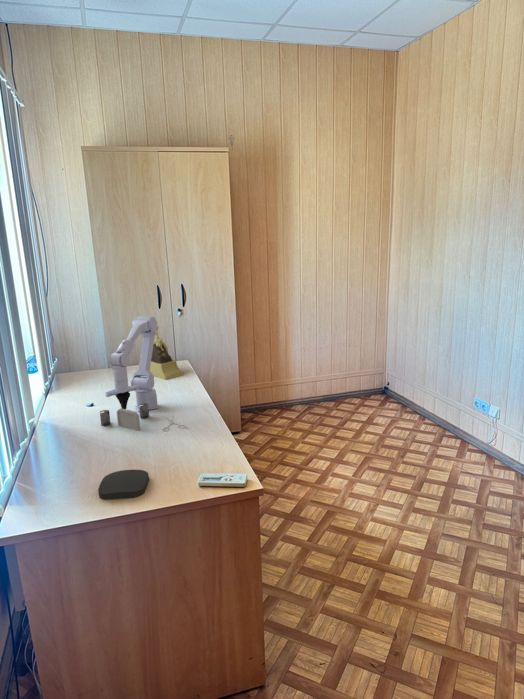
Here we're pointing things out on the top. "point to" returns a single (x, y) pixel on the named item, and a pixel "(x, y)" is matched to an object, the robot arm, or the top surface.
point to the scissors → (173, 423)
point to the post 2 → (144, 411)
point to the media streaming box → (123, 484)
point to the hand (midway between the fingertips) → (124, 408)
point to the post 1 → (105, 417)
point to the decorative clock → (163, 361)
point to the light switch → (128, 419)
